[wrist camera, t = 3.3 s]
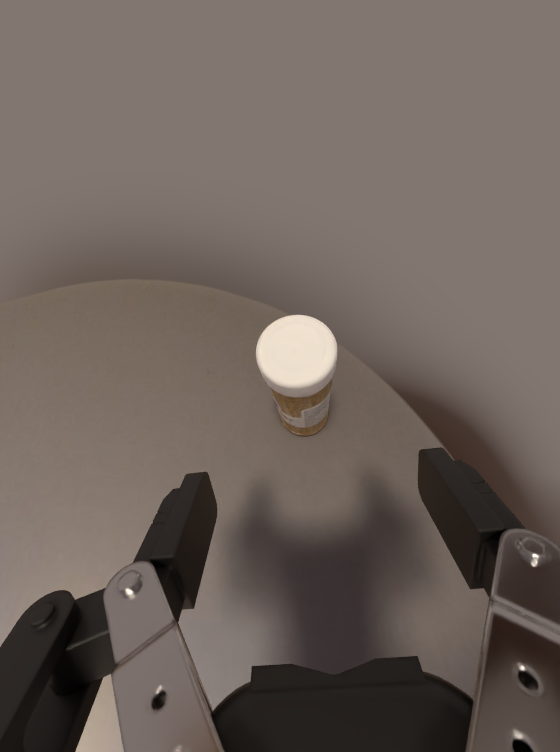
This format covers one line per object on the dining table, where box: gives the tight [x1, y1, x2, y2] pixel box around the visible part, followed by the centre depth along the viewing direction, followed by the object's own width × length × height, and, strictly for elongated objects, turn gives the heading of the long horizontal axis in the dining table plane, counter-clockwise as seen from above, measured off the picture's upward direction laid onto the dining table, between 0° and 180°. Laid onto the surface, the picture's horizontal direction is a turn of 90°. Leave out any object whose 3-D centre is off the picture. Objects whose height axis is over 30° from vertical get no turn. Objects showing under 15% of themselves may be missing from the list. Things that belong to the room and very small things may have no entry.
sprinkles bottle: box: [256, 315, 337, 436], centre depth 23 cm, size 5×5×13 cm
